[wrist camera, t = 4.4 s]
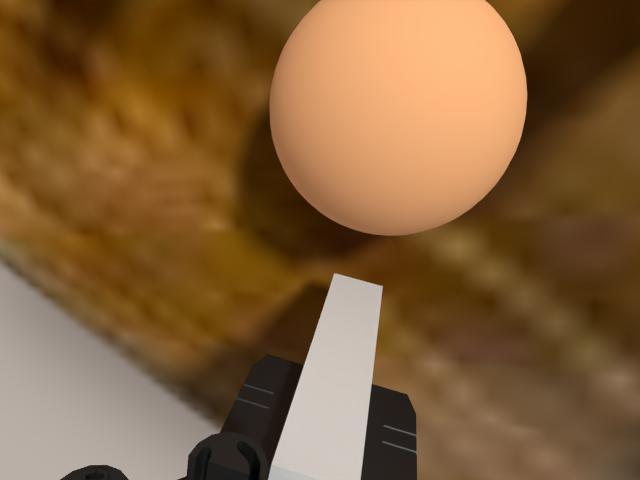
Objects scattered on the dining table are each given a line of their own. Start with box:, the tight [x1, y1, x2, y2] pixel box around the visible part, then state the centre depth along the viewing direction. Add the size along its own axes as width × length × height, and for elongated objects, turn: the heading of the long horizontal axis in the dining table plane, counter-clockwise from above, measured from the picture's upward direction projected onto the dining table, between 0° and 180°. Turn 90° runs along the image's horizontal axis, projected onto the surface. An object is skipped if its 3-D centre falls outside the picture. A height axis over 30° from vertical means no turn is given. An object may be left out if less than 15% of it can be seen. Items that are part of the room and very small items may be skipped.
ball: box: [269, 0, 527, 236], centre depth 10 cm, size 6×6×6 cm
